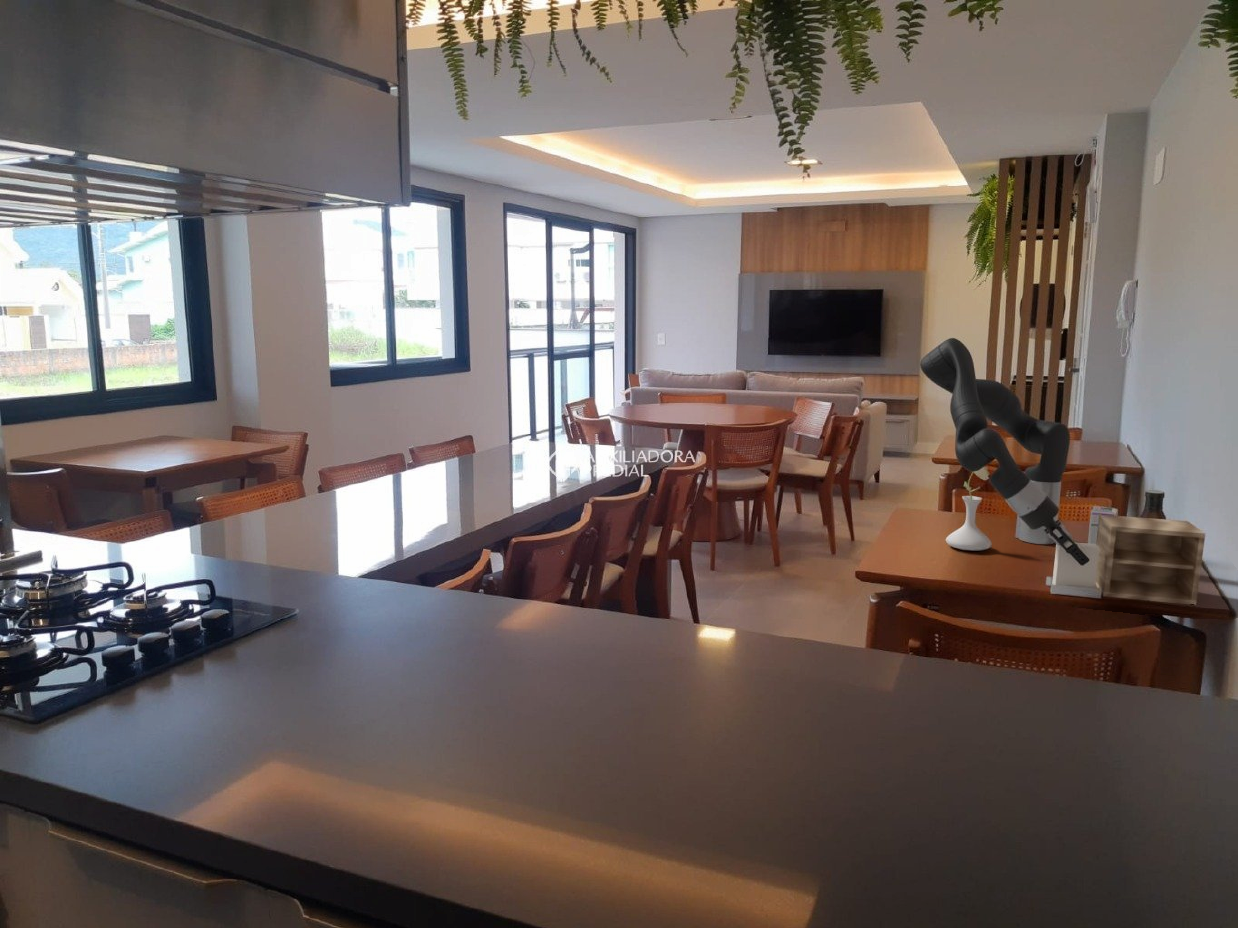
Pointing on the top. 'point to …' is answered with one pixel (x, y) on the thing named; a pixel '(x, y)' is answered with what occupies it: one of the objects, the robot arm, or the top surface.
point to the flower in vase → (970, 522)
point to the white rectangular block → (1076, 566)
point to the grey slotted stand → (1073, 590)
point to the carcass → (1149, 559)
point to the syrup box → (1095, 520)
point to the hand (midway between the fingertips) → (1081, 557)
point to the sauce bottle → (1153, 505)
